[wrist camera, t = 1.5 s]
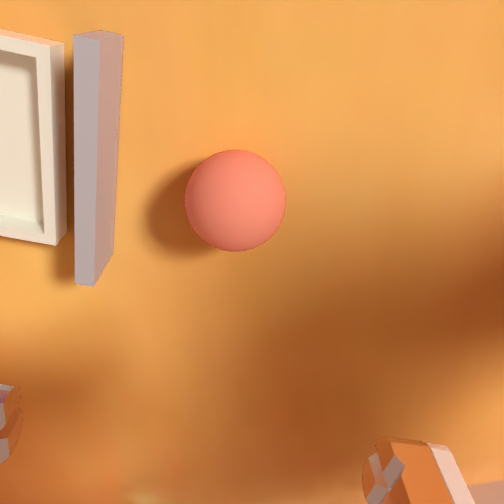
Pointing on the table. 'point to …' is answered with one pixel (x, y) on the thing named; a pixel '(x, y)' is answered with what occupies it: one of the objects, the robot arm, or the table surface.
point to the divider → (95, 149)
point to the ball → (235, 200)
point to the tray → (32, 138)
